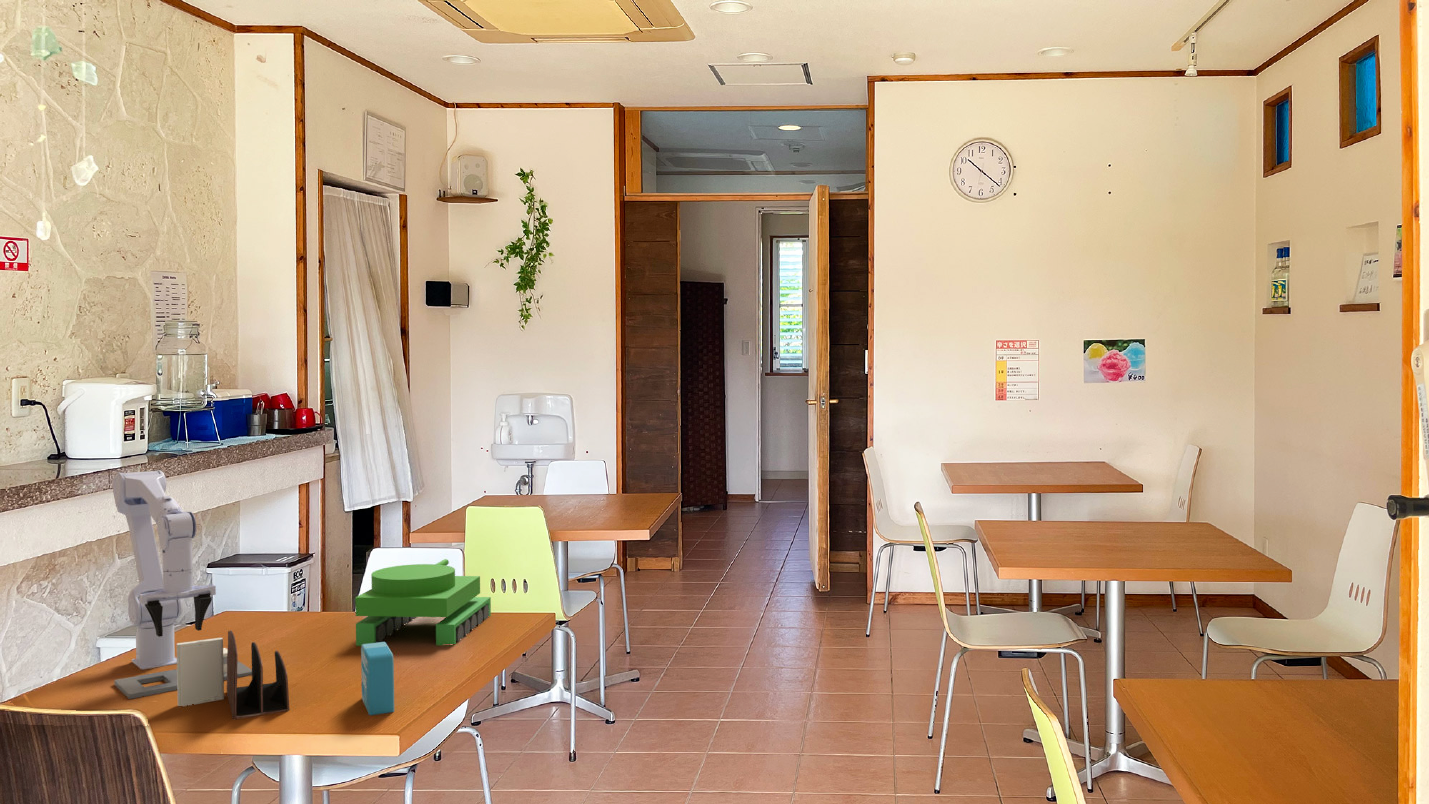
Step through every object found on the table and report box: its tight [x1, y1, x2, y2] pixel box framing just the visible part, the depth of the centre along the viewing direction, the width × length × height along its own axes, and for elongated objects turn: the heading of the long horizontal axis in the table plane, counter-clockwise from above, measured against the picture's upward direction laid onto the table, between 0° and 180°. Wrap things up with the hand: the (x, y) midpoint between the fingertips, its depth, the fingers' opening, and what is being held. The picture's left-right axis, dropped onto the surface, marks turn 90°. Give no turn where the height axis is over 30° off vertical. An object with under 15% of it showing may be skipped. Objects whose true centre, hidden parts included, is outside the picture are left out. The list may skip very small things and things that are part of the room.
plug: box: [223, 647, 228, 673], centre depth 230 cm, size 7×4×5 cm, turn 41°
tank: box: [354, 558, 492, 647], centre depth 265 cm, size 24×35×16 cm
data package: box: [360, 641, 395, 716], centre depth 204 cm, size 12×4×12 cm, turn 25°
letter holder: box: [226, 630, 291, 720], centre depth 209 cm, size 10×20×14 cm, turn 28°
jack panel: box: [113, 659, 252, 700], centre depth 225 cm, size 13×24×1 cm, turn 131°
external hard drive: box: [176, 637, 225, 707], centre depth 209 cm, size 2×8×12 cm, turn 123°
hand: (179, 632), depth 227 cm, fingers open, 7 cm apart
